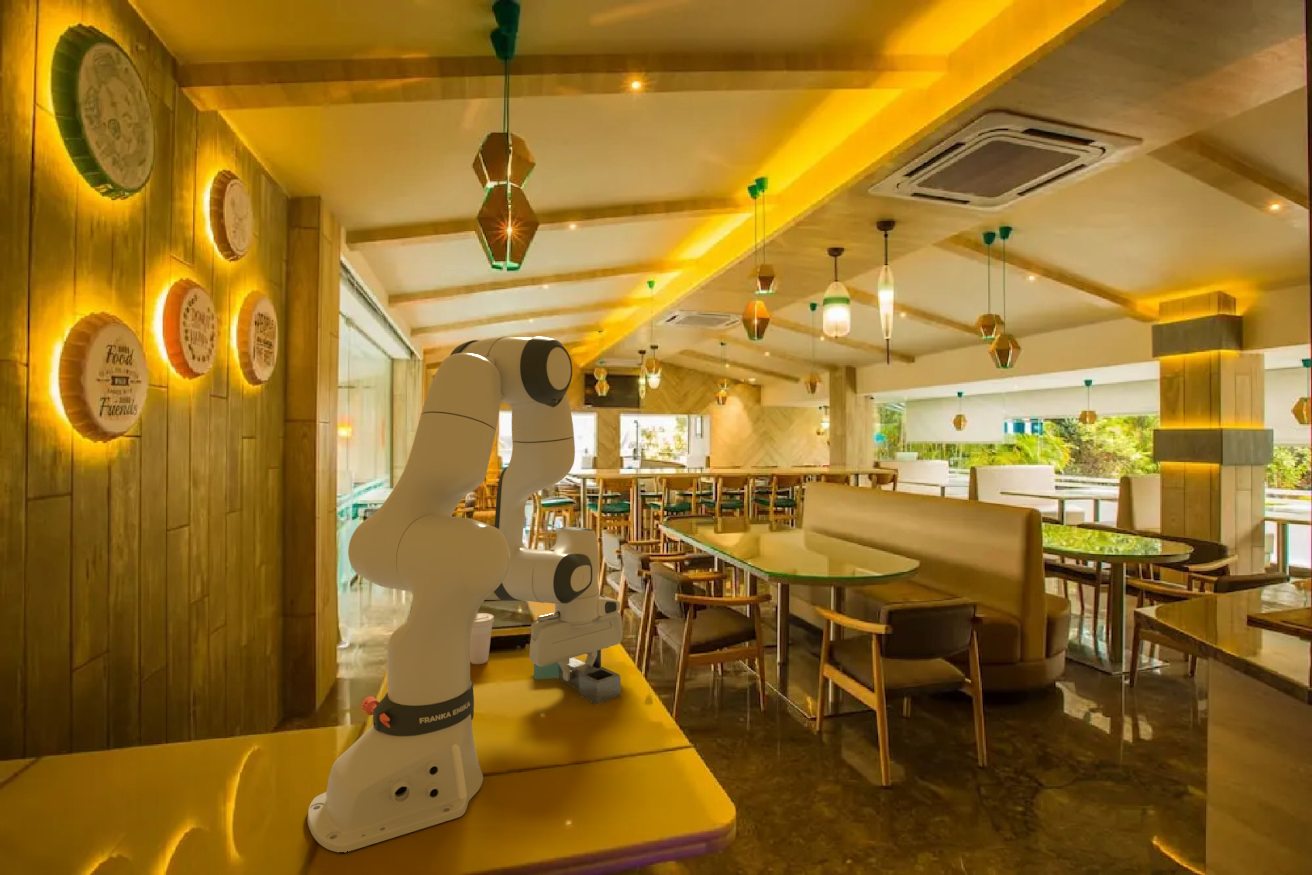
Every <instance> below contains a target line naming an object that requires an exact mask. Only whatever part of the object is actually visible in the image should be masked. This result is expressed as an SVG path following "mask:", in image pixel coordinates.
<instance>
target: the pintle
mask: <svg viewBox="0 0 1312 875" xmlns="http://www.w3.org/2000/svg"><path fill="white" fill-rule="evenodd" d="M592 666H593V667H595V668H597V669H598V668H601V667H602V649H600V650H597V657H596V659H595V661H594V663H593V665H592Z"/></svg>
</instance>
